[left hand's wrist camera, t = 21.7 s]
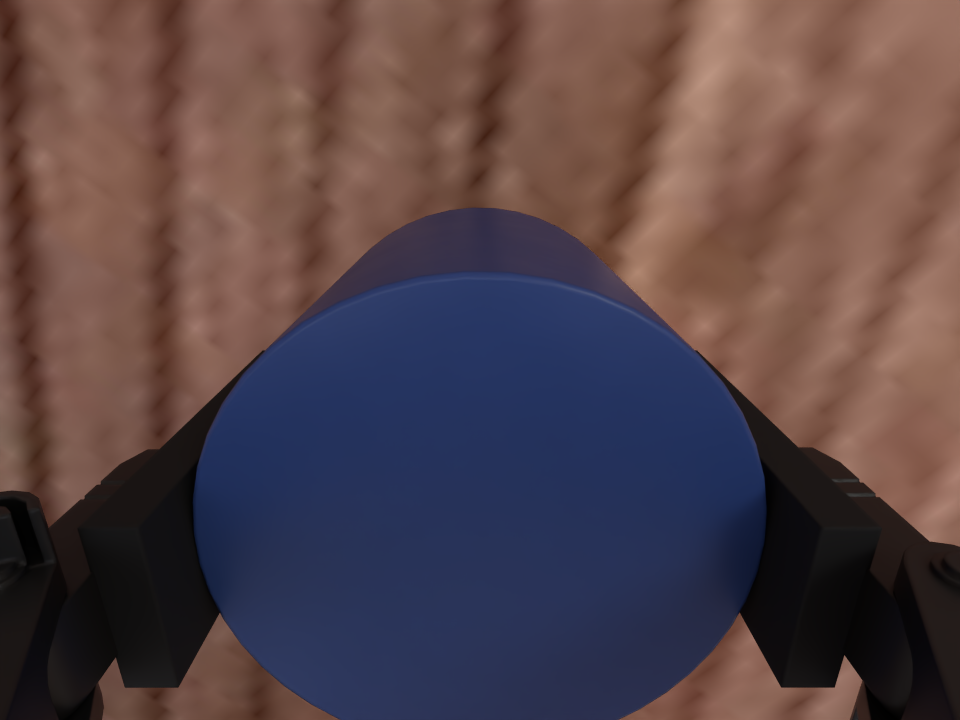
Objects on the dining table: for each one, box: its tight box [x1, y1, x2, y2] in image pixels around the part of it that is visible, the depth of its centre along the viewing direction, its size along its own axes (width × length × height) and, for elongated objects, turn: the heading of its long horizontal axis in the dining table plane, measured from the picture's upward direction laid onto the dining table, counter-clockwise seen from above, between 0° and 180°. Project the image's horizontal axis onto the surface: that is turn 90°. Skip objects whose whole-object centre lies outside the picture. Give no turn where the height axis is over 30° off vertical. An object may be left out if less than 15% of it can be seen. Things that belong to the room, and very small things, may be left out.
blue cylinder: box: [193, 208, 767, 720], centre depth 12 cm, size 8×8×8 cm
